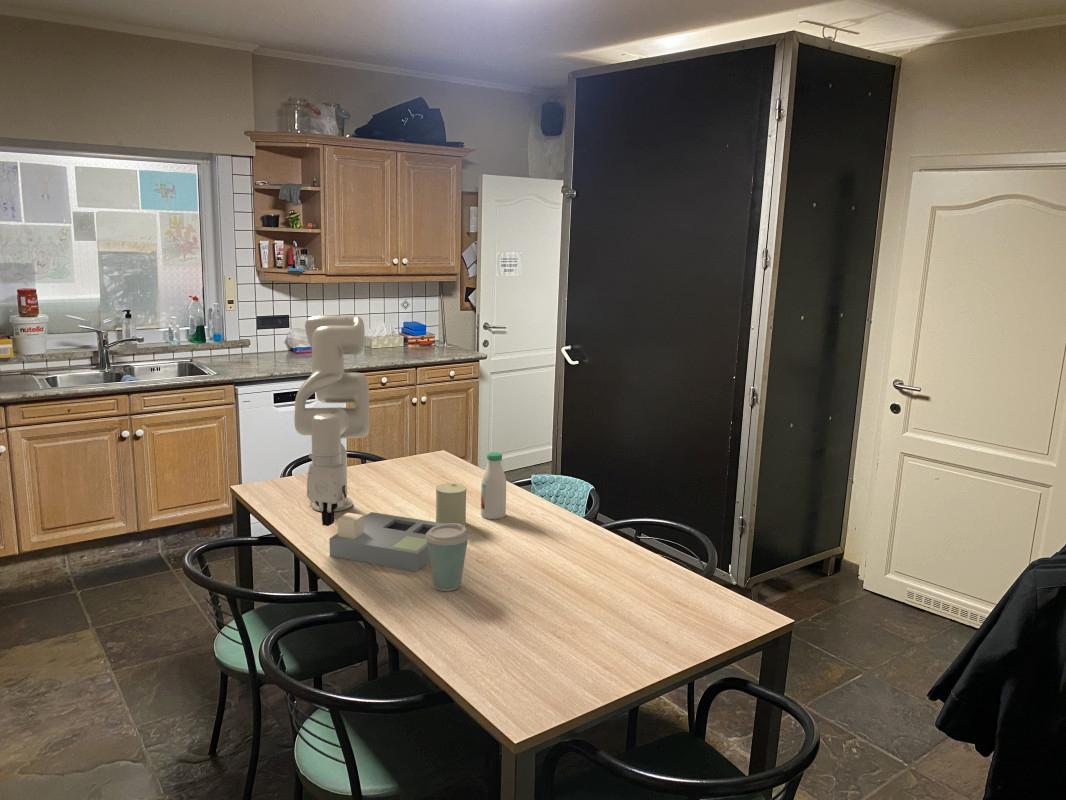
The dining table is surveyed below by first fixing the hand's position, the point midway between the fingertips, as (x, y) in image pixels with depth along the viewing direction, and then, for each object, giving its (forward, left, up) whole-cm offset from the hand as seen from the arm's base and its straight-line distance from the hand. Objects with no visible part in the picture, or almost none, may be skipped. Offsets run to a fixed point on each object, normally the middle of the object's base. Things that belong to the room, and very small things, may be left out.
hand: (328, 524), depth 213 cm
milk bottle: (+33, +41, -7) cm, 53 cm away
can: (+24, +29, -7) cm, 38 cm away
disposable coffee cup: (+40, -10, -7) cm, 42 cm away
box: (+17, +6, -6) cm, 19 cm away
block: (+8, -1, -2) cm, 8 cm away
